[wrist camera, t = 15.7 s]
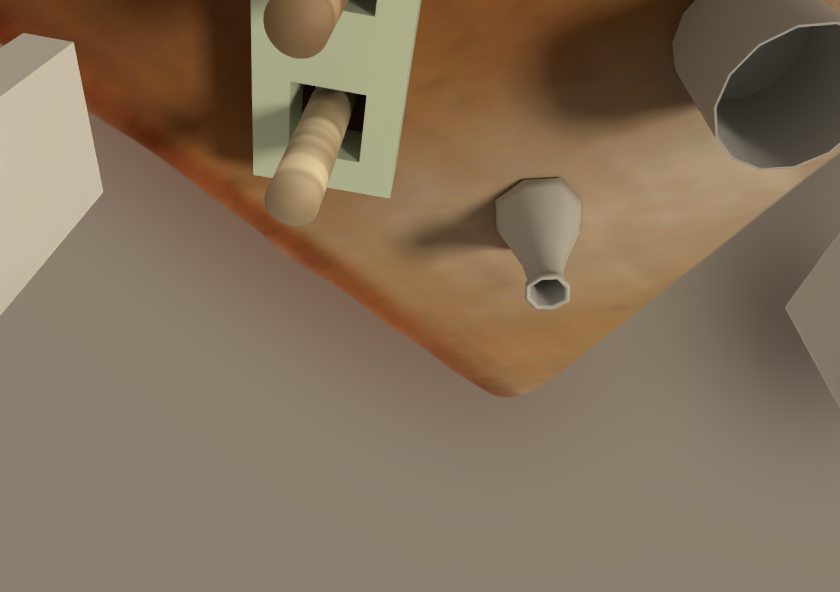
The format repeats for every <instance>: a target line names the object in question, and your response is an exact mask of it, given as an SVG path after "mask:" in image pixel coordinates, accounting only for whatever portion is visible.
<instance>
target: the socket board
mask: <svg viewBox="0 0 840 592" xmlns="http://www.w3.org/2000/svg"><path fill="white" fill-rule="evenodd" d="M268 2H269V0H251V56H252V117H253V175H258V176H264V177H270V178H273V176H274V174H275V171H276V169H277V167H278V165H279V163H280V161H281V159H282V157H283V154H284V152H285V150H286V148H287V146H288V144H289V142H290V140H291V137H292V135H293V133H294V131H295V129H296V127H297V125H298V123H299V120H300V118H301V116H302V108H303V84H307V85H312V86H318V87H323V88H329V89H334V90H340V91H345V92H351V93H356V94H362V95H367V96H366V106H365V115H364V124H363V132H360V131H354V130H348V129H346V132H345V135H344V138H343V141H342V144H341V147H340V149H339V152H338V155H337V158H336V161H335V164H334V167H333V170H332V173H331V176H330V179H329V182H328V185H327V188H333V189H339V190H345V191H350V192H356V193H362V194H368V195H374V196H379V197H385V198H390V196H391V191H392V185H393V180H394V175H395V170H396V164H397V157H398V151H399V144H400V137H401V131H402V124H403V118H404V111H405V104H406V98H407V91H408V85H409V78H410V71H411V65H412V58H413V52H414V45H415V38H416V32H417V25H418V19H419V12H420V5H421V0H349V1H348V3H347V5H346V6H345V8H344V10H343V12H342V14H341V16H340V18H339V20H338V22H337V24H336V26H335V28H334V30H333V32H332V34H331V36H330V38H329V40H328V42H327V44H326V45H325V47H324V48H323V49H322V51H321V52H319V53H318V54H317V55H315V56H313V57H310V58H306V59H297V58H292V57H289V56H287V55H285V54H283V53H282V52H280V51H279V50H278V49H277V48H276V47H275V46H274V45H273V44H272V43H271V42H270V40H269V38H268V36H267V34H266V32H265V29H264V23H263V16H264V10H265V7H266V5H267V3H268Z"/></svg>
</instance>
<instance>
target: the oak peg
mask: <svg viewBox="0 0 840 592" xmlns="http://www.w3.org/2000/svg"><path fill="white" fill-rule="evenodd" d="M348 1H349V0H269V2H268V3H267V5H266V7H265V10H264V16H263V23H264V29H265V32H266V34H267V36H268V38H269V40H270V42H271V43H272V44H273V45H274V46H275V47H276V48H277V49H278V50H279V51H280V52H282V53H283V54H285V55H287V56H289V57H292V58H297V59H306V58H310V57H313V56H315V55H317V54H318V53H319V52H321V51H322V49H323V48H324V47H325V45H326V44H327V42H328V40H329V38H330V36H331V34H332V32H333V30H334V28H335V26H336V24H337V22H338V20H339V18H340V16H341V14H342V12H343V10H344V8H345V6H346V5H347V3H348Z"/></svg>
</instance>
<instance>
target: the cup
mask: <svg viewBox="0 0 840 592" xmlns="http://www.w3.org/2000/svg"><path fill="white" fill-rule="evenodd" d="M672 46H673V57H674V67H675V71H676V72H677V74H678V76H679V77H680V79H681V81H682V82H683V84H684V86H685V87H686V89H687V91H688V92H689V94H690V96H691V97H692V99H693V101H694V102H695V104H696V106H697V107H698V109H699V111H700V112H701V114H702V116H703V117H704V119H705V121H706V122H707V124H708V126H709V127H710V129H711V131H712V132H713V134H714V136H715V137H716V139H717V140H718V141H719V143H720V144H721V145H722V147H723V148H724V149H725V151H726V152H727V153H728V155H729V156H730V157H731V159H732V160H735V161H737V162H740V163H743V164H745V165H748V166H750V167H753V168H756V169H758V170H769V169H786V168H795V167H798V166H800V165H803V164H805V163H807V162H810V161H812V160H815V159H817V158H820V157H822V156H824V155H827V154H829V153H831V152H832V151H833V150H834V149H835V148H837V147H838V146H839V145H840V13H839V12H838V11H836V10H835V9H834V8H832V7H831V6H830V5H828V4H827V3H826V2H824V1H823V0H695V1H694V2H693V3H692V4H691V5H690V6H689V7H688V9H687V10H686V11H685V12H684V13H683V15H682V18H681V20H680V23H679V26H678V29H677V31H676V34H675V37H674V39H673V42H672Z"/></svg>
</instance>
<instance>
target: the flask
mask: <svg viewBox="0 0 840 592" xmlns="http://www.w3.org/2000/svg"><path fill="white" fill-rule="evenodd" d="M495 209H496V230H497V231H498V233H499V234H500V236H501V237H502V238H503V239H504V241H505V242H506V243H507V245H508V246H509V247H510V249H511V250H512V251H513V253H514V254H515V256H516V257H517V259H518V260H519V262H520V263H521V265H522V266H523V269H524V271H525V274H526V277H527V279H528V281H527V282H526V284H525V299H526V301H528V302H529V303H530V304H531V305H532V306H533V307H534V308H535V309H536V310H554V309H556V308H558V307H560V306H561V305H563V304H565V303H567V302H569V298H570V284H569V283H568V282H567V281H566V280H565V278H564V267H565V265H566V262H567V260H568V257H569V255H570V252H571V250H572V248H573V246H574V244H575V242H576V240H577V238H578V236H579V233H580V229H581V215H582V201H581V200H580V198H579V197H578V196H577V195H576V194H575V193H574V191H573V190H572V189H571V188H570V187H569V186H568V185H567V183H566V182H565V181H564V180H563V179H562V178H547V179H528V180H523V181H522V182H520V183H519V184H517V185H516V186H514V187H513V188H512V189H510V190H509V191H507V192H506V193H504V194H503V195H502V196H500V197H499V198H497V199H496V200H495Z"/></svg>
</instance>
